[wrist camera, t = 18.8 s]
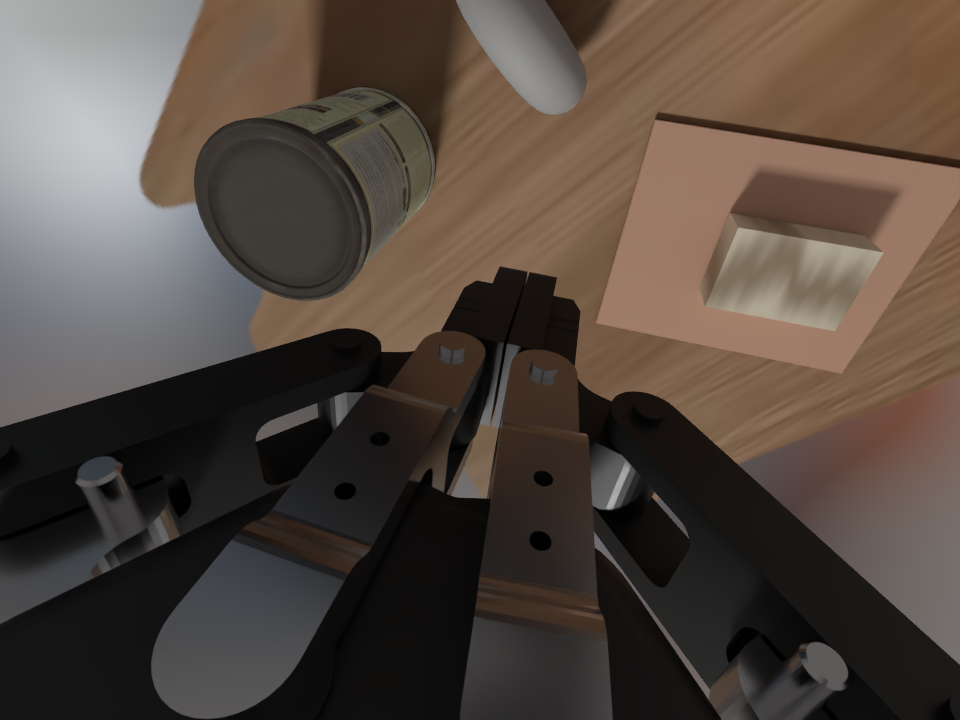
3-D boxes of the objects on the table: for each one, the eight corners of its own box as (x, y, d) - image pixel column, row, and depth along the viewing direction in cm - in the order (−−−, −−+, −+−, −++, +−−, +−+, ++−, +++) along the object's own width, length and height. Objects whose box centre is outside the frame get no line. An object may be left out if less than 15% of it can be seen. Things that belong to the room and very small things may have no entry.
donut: (600, 77, 33) (596, 98, 25) (558, 113, 35) (541, 144, 27) (505, -69, 30) (465, -99, 22) (463, -21, 32) (413, -32, 24)
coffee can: (356, 241, 44) (267, 321, 33) (287, 122, 39) (156, 167, 28) (459, 197, 40) (398, 271, 28) (395, 59, 35) (293, 81, 24)
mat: (654, 118, 34) (655, 119, 34) (974, 170, 32) (978, 171, 31) (596, 320, 43) (596, 323, 43) (840, 370, 41) (841, 373, 41)
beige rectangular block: (738, 227, 33) (883, 252, 32) (729, 211, 36) (862, 234, 35) (705, 306, 37) (835, 331, 36) (698, 286, 39) (819, 309, 38)
